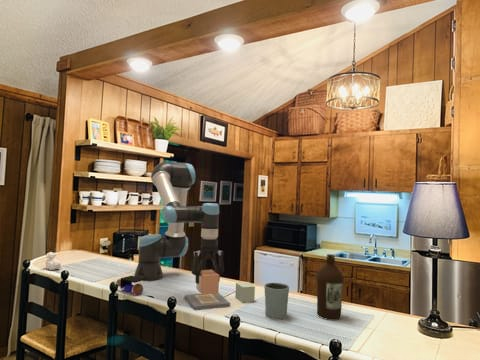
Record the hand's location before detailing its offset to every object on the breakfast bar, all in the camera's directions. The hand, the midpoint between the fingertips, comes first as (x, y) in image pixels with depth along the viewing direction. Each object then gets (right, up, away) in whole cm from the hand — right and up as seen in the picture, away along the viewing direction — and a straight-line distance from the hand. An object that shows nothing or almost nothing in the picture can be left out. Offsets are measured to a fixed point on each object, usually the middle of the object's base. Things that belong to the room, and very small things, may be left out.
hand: (207, 290), depth 152 cm
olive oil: (+51, -7, -11) cm, 53 cm away
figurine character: (-37, -5, +10) cm, 39 cm away
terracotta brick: (0, 0, 0) cm, 0 cm away
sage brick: (+17, -6, +6) cm, 19 cm away
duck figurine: (-94, -3, +47) cm, 105 cm away
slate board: (0, -5, 0) cm, 5 cm away
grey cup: (+29, -6, -13) cm, 32 cm away
